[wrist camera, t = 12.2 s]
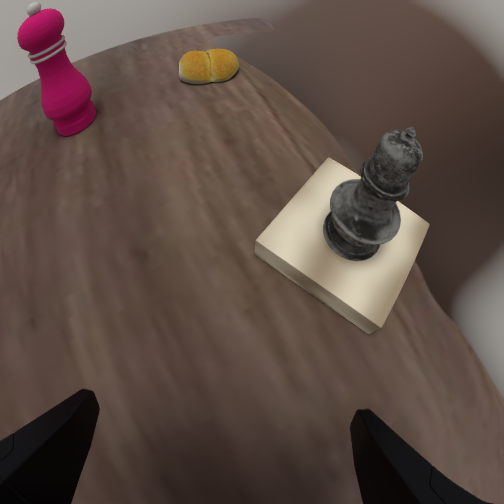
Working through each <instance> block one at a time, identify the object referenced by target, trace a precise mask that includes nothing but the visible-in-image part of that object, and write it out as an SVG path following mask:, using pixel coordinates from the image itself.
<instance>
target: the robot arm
mask: <svg viewBox="0 0 504 504" xmlns="http://www.w3.org/2000/svg"><path fill="white" fill-rule="evenodd" d="M99 410H100V408H99V404H98V401H97V399H96V396H95V394H94V392H93V391H92V390H88V389H81V390H79V391H78V392H76V393H75V394H73V395H72V396H70V397H69V398H67V399H66V400H64V401H63V402H61V403H60V404H58V405H56V406H55V407H53V408H52V409H50V410H49V411H47V412H46V413H44V414H42V415H41V416H39V417H38V418H36V419H35V420H33V421H32V422H30V423H28V424H27V425H25V426H24V427H22V428H21V429H19V430H17V431H16V432H15V434H14V433H13V434H11V435H9V436H8V437H6V438H4V439H3V440H1V441H0V504H71V502H72V499H73V496H74V493H75V490H76V487H77V484H78V481H79V478H80V475H81V472H82V469H83V466H84V463H85V461H86V458H87V455H88V452H89V449H90V447H91V443H92V439H93V435H94V431H95V427H96V423H97V419H98V415H99ZM350 432H351V441H352V449H353V459H354V466H355V471H356V475H357V479H358V483H359V488H360V492H361V497H362V501H363V504H492V503H488V502H485V501H482V500H481V499H479V498H477V497H476V496H474V495H472V494H471V493H469V492H468V491H466V490H464V489H463V488H461V487H460V486H458V485H457V484H455V483H454V482H453V481H451V480H450V479H448V478H447V477H446V476H445V475H443V474H442V473H441V472H440V471H438V470H437V469H436V468H435V467H434V466H432V465H431V464H430V463H429V462H428V461H427V460H426V459H425V458H423V457H422V456H421V455H420V454H419V453H418V452H417V451H415V450H414V449H413V448H412V447H411V446H410V445H409V444H408V443H406V442H405V441H404V440H403V439H402V438H401V437H400V436H399V435H398V434H396V433H395V432H394V431H393V430H392V429H391V428H390V427H389V426H388V425H386V424H385V423H384V422H383V421H382V420H381V419H380V418H379V417H378V416H377V415H376V414H374V413H373V412H372V411H371V410H370V409H368V408H365V409H358V410H357V411H356V413H355V415H354V417H353V420H352V422H351V425H350Z"/></svg>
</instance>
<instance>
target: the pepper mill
mask: <svg viewBox="0 0 504 504" xmlns="http://www.w3.org/2000/svg"><path fill="white" fill-rule="evenodd" d="M40 10H41V4H40V3H38V2H34V3H32V4H31V5H29V7H28V9H27V13H28V15H30V17H29V18H27V19H26V20H25V21H24V22H23V23H22V25H21V26H20V28H19V31H18V38H17V39H18V43H19V45H20V47H21V48H22V49H24V50H26V51H29V52H30V53H29V55H28V57H29V58H30V60H31V61H30V62H31V64H35V65H36V67H37V69H38V72H39V75H40V80H41V103H42V108H43V111H44V113H45V115H46V117H47V118H49V119H51V120H54V125H55V127H56V129H57V131H58V133H59V134H60V135H62V136H70V135H73V134H76V133H78V132H80V131H82V130H83V129H85V128H86V127H87V126H88V125H90V124H91V122H92V121H93V120H94V118H95V116H96V110H95V107H94V105H93V102H92V101H91V100H90V97H91V93H92V90H91V87H90V85H89V82H88V81H87V79H86V78H85V77H84V76H83V75H82V74H81V73H80V72H79V71H78V70H76V69H75V68H74V67H73V65H72V64H71V62H70V61H69V59H68V57H67V55H66V51H65V46H66V44H67V43H66V41H65V36H64V35H61V33H62V30H63V28H64V18H63V16H62V14H61V13H60V12H59V11H57V10H55V9H44V10H41V11H40Z"/></svg>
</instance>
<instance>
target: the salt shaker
mask: <svg viewBox="0 0 504 504" xmlns="http://www.w3.org/2000/svg"><path fill="white" fill-rule="evenodd" d="M415 136H416V133H415V130H414V127H412V128H411V127H410V128H407V129H406V132H404V131H400V130H391V131H388V132H386V133H385V134H384V135H383V136H382V138H381V139H380V141H379V144H378V146H377V148H376V150H375V152H374V154H373V157H372V158H369V159H367V160H366V161H364V163H363V164H362V166H361V179H351V180H347V181H344V182H342V183H341V184H339V185H338V186H337V187H336V188H335V189H334V191H333V192H332V195H331V198H330V210H331V212H329V214H328V215H327V216H326V218H325V221H324V224H323V233H324V237H325V240H326V242H327V243H328V245H329V247H330V248H331V249H332V250H333V251H334V252H335V253H336V254H338V255H339V256H341V257H343V258H345V259H348V260H352V261H363V260H366V259H369V258H371V257H372V256H373V255H374V254H375V253H376V252H377V251H378V249H379V247H380V244H384V243H386V242H388V241H391V240H392V239H393V238H394V237H395V236H396V235H397V233H398V231H399V229H400V224H401V217H400V211H399V209H398V206H397V204H396V202H397V201H398V200H401V199H403V198H404V197H406V196H407V194H408V192H409V181H410V179H411V178H412V176H413V175H414V173H415V172H416V170H417V169H418V167H419V166H420V164H421V161H422V158H423V153H422V149H421V146H420V145H419V143H418V142H417V140H416V139H415V138H414V137H415Z"/></svg>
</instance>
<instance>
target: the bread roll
mask: <svg viewBox="0 0 504 504" xmlns="http://www.w3.org/2000/svg"><path fill="white" fill-rule="evenodd" d="M238 68H239V63H238V59H237V57H236V56H235V55H234V54H233V53H232V52H230V51H228V50H225V49H211V50H208V51H206V52H202V51H190V52H188V53H186V54H185V55H183V57H182V58H181V60H180V62H179V77H180V80H181V81H183V82H186V83H191V84H206V83H210V82H223V81H226V80H229V79H230V78H231V77H232V76H233V75H234V74H235V73H236V72H237V70H238Z"/></svg>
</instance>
